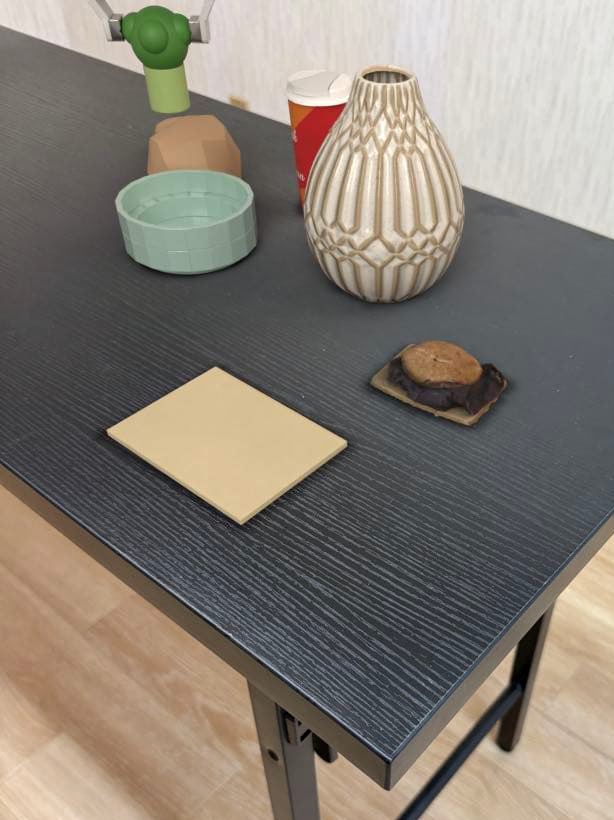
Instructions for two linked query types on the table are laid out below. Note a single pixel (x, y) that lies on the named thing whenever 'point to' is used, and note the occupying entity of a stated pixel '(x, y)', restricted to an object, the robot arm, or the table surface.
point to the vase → (384, 192)
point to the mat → (228, 443)
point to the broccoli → (161, 54)
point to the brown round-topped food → (441, 381)
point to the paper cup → (313, 114)
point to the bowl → (188, 220)
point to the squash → (193, 146)
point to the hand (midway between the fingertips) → (160, 40)
